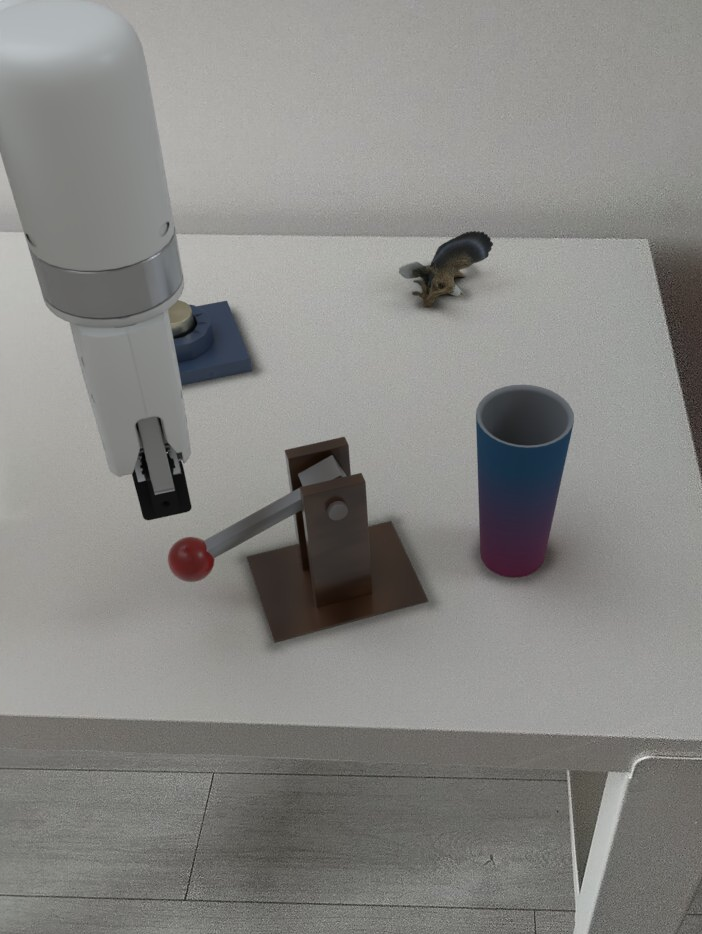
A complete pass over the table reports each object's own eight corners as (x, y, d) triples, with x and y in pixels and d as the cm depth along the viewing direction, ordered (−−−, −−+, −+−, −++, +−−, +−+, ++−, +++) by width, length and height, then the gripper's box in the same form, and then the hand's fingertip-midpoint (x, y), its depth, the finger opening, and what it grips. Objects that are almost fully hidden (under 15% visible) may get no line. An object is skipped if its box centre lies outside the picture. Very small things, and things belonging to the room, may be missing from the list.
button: (155, 344, 95) (151, 328, 94) (147, 320, 98) (143, 304, 97) (198, 335, 96) (195, 319, 95) (190, 312, 99) (186, 296, 98)
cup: (571, 562, 84) (594, 415, 72) (514, 607, 80) (528, 461, 69) (509, 519, 87) (521, 372, 75) (451, 561, 83) (455, 414, 72)
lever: (188, 597, 74) (163, 574, 72) (179, 566, 76) (155, 542, 73) (359, 503, 73) (340, 475, 71) (346, 474, 75) (327, 446, 73)
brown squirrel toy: (473, 319, 103) (509, 260, 107) (433, 261, 99) (472, 202, 103) (419, 333, 108) (455, 276, 112) (379, 279, 104) (417, 222, 108)
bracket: (275, 651, 77) (254, 530, 68) (248, 566, 83) (224, 443, 73) (428, 609, 80) (428, 488, 70) (391, 530, 86) (387, 407, 76)
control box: (124, 404, 95) (115, 368, 92) (108, 342, 102) (98, 307, 98) (253, 377, 98) (247, 342, 95) (230, 319, 104) (224, 284, 101)
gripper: (22, 205, 59) (93, 448, 73) (53, 358, 50) (127, 602, 64) (154, 186, 61) (199, 427, 75) (207, 331, 52) (247, 574, 66)
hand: (166, 507), depth 70 cm, fingers closed
